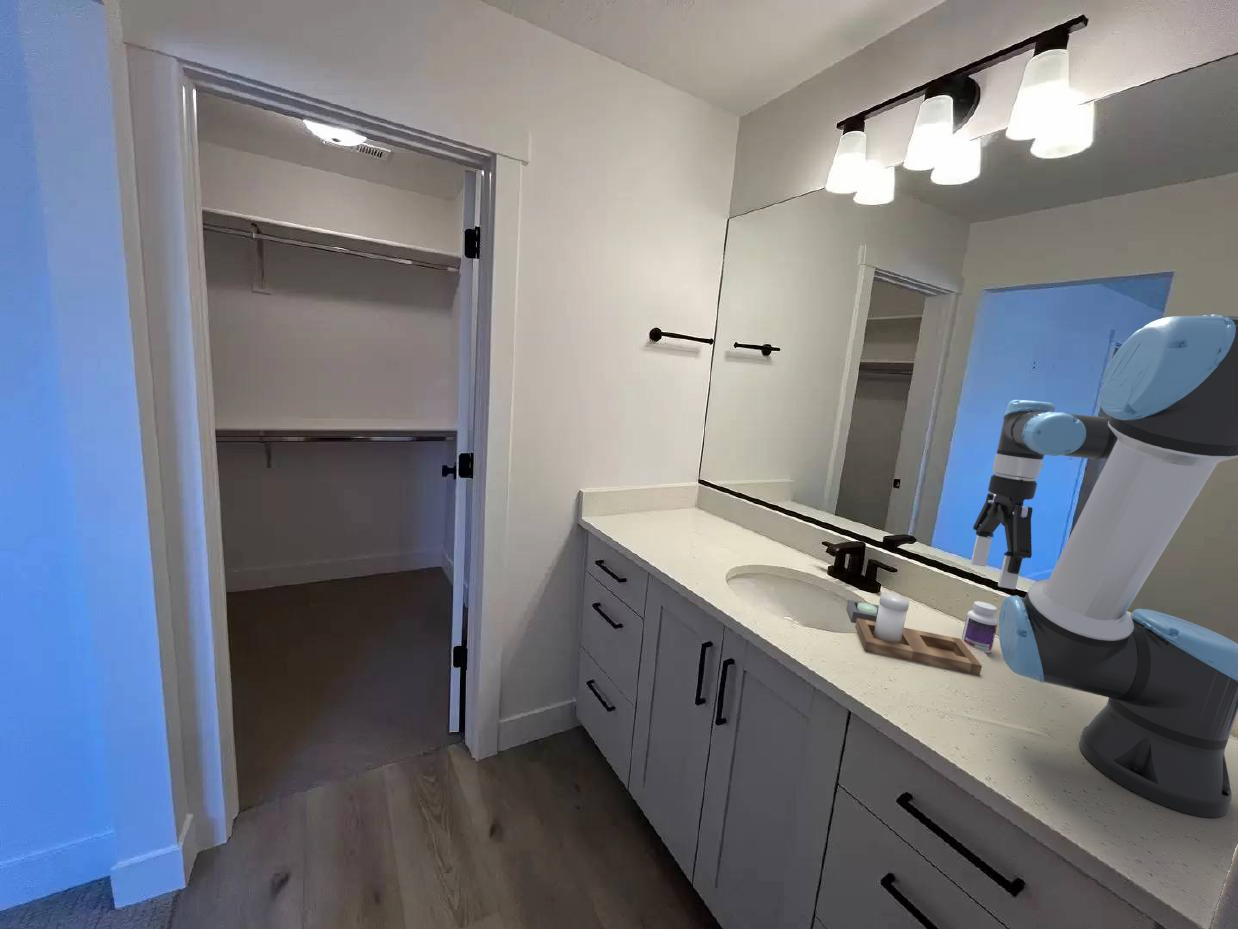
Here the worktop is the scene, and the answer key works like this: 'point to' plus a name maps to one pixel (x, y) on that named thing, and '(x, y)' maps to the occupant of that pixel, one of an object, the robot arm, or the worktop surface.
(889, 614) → the bottle
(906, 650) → the walnut caddy
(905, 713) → the worktop surface
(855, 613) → the switch box
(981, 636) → the pill bottle
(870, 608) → the button
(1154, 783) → the robot arm
